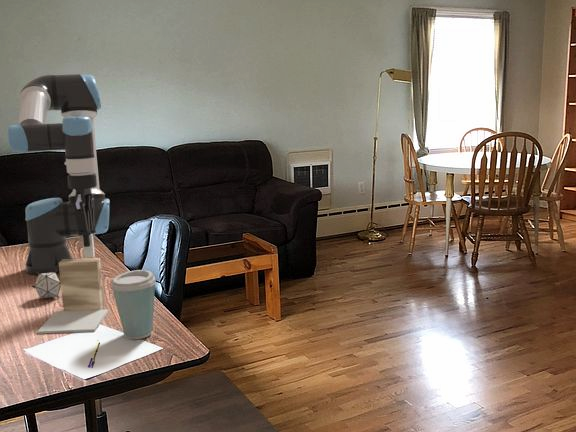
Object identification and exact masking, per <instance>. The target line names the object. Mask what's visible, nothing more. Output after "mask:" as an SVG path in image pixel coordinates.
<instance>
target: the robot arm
mask: <svg viewBox="0 0 576 432" xmlns="http://www.w3.org/2000/svg"><path fill="white" fill-rule="evenodd" d="M99 93H100V92H99V88H98V85H97V81H96V79H95V77H94V76H93V75H92V74H81V73H79V74H78V73H77V74H76V73H75V74H45V75H42V76H38V77H36V78H34V79H31V80H30V81H29V82H27V83H26V84H25V85H24V86H23V87H22V89H21V91H20V93H19V97H18V103H19V106H20V113H19V118H18V124H14V125H12V124H11V125H9V126H8V128H7V139H8V144H9V145H8V146H9V148H10V151H11V152H12V153H13V152H14V153H32V152H45V151H46V152H48V151H65V152H64V153H65V161H64V162H63V163H64V165H65V166H66V173H67V174H68V175H67V186H68V188H69V189H71V190H72V192H71V193H70V194H69V195H68V201H63V198H61V197H51V198H46V199H40V200H37V201H33V202H32V203H31V202H30V203H29V204H27V206H26V207H25V210H24V211H25V221H26V222H25V223H26V229H27V241H28V252H27V258H26V261H25V271H26V273H27V274H29V275H34V276H38V275H39V274H41V273H50V272H55V270H56V269H57V271H56V274H60V272H59V262H60V261H61V260H62V259H74V258H73V255H72V254H71V252H70V249H69V248H68V247H69V246H68V245H67V238H69V237H79V236H81V243H82V253H83V258H95V257H96V254H95V244H94V243H95V242H94V236H95V235H99V234H100V235H101V234H104V233H107V231H108V230H109V225H110V223H109V222H110V206H111V205H110V202H111V201H110V199H109V198H106V193H104V191H102V190H101V189H100V180H99V179H100V177H99V167H98V158H97V155H98V154H97V145H96V137H95V136H96V135H95V124H94V119H95V118H96V117H97V116H98V110H100V109H102V103H101V98H100V94H99ZM48 111H60V115H61V117H63V119H62V120H61V121H62V122H61V123H60V122H59V123H58V122H56V123H47V122H48V121H47V119H48V118H47V117H48ZM37 272H39V274H38V273H37Z"/></svg>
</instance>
